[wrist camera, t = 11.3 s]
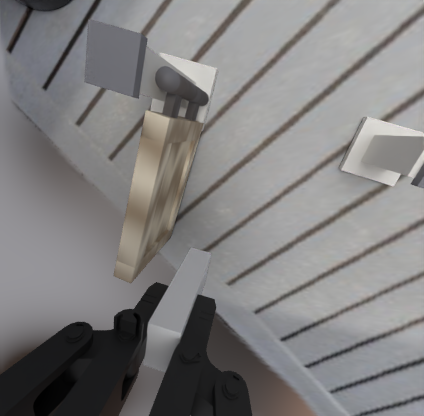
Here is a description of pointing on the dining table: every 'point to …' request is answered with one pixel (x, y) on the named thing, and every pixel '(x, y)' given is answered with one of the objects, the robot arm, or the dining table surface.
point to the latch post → (385, 153)
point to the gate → (159, 173)
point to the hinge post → (139, 67)
